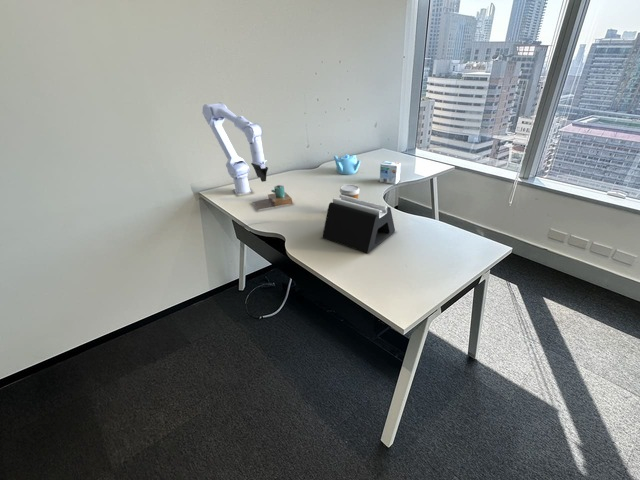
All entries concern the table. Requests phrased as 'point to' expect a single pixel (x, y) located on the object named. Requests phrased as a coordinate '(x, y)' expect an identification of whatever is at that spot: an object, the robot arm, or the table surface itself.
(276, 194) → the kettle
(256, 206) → the tier stand
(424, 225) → the table surface
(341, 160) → the teapot
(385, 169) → the light bulb box
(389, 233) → the device stand
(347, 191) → the disposable coffee cup
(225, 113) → the robot arm
